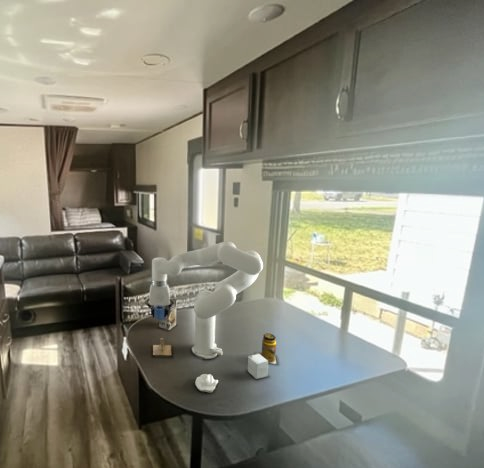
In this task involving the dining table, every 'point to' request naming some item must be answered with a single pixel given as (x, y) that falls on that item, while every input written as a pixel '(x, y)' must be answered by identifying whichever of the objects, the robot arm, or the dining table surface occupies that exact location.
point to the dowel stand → (161, 348)
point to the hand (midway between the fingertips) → (159, 315)
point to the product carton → (257, 366)
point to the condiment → (269, 348)
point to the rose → (206, 383)
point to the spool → (159, 312)
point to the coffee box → (169, 318)
